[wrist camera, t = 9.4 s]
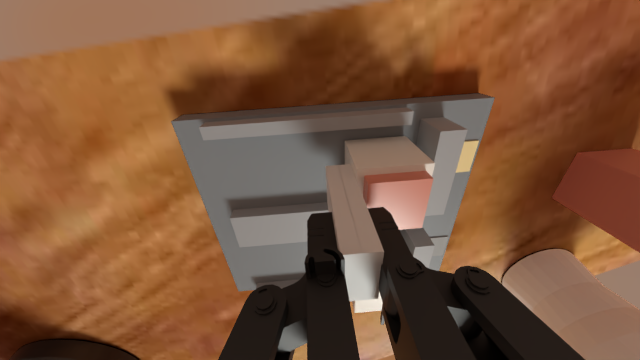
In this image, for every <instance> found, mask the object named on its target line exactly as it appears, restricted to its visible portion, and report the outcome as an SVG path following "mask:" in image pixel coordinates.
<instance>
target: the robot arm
mask: <svg viewBox="0 0 640 360" xmlns="http://www.w3.org/2000/svg"><path fill="white" fill-rule="evenodd" d="M325 167H326V186H327V204H328V211H329V212H325V213H313V214H311V215H310V217H309V219H308V220H307V247H308V255H307V256H306V258H305V262H304V264H305V271H306V272H305V274H304V275H303V277H302V278H301V279H300V280H299V281H297V282H295V283H294V284H292V285H289V286H287V287H284V288H282V289H281V288H280V287H279V286H276V285H273V284H271V285H264V286H261V287H259V288H257V289H256V290H254V291H253V292H252V293H251V294H250V295H249V297H248V298H247V300H246V302H245V304H244V306H243V308H242V310H241V312H240V314H239V316H238V319H237V321H236V323H235V325H234V327H233V329H232V331H231V333H230V336H229V338H228V340H227V342H226V344H225V346H224V348H223V350H222V353H221V355H220V357H219V359H218V360H292V358H293V354H294V350H295V349H296V348H298V347H300V346H302V345H304V344H305V343H307V360H360V358H359V353H358V347H357V341H356V336H355V330H354V324H353V319H352V313H351V307H350V302H349V301H359V300H370V299H378V297H379V292H380V295H381V299H382V302H383V304H382V311H381V318H380V319H381V325H383V324H384V321H385V324H386V328H387V331H388V335H389V338H390V342H391V345H392V349H393V352H394V355H395V359H396V360H585V359H584V358H583V357H582V356H581V355H580V354H578V353H577V352H576V351H575V350H574V349H573V348H572V347H571V346H570V345H568V344H567V343H566V342H565V341H564V340H563V339H562V338H561V337H560V336H558V335H557V334H556V333H555V332H554V331H553V330H552V329H551V328H550V327H548V326H547V325H546V324H545V323H544V322H543V321H542V320H541V319H540V318H538V317H537V316H536V315H535V314H534V313H533V312H532V311H531V310H530V309H528V308H527V307H526V306H525V305H524V304H523V303H522V302H521V301H520V300H519V299H517V298H516V297H515V296H514V295H513V294H512V293H511V292H510V291H509V290H507V289H506V288H505V287H504V286H503V285H502V284H501V283H500V282H499V281H497V280H496V279H495V278H494V277H493V276H491V275H490V274H489V273H487V272H486V271H484V270H481V269H479V268H477V267H471V266H463V267H460V268H458V269H457V270H456V271H455V274H452V273H446V272H441V271H436V270H432V269H429V268H427V267H425V265H424V264H423V263H422V262H421V261H419V260H418V259H416V258H414V257H413V255H412V254H411V252H410V250H409V248H408V246H407V244H406V242H405V240H404V238H403V236H402V234H401V232H400V230H399V229H398V226H397V224H396V223H395V220H394V218H393V216H392V214H391V213H390V212H389V211H388V210H386V209H385V208H384V207H377V208H367V205H366V203H365V200H364V198H363V195H362V192H361V190H360V187H359V185H358V182H357V179H356V177H355V174H354V172H353V169H352V166H351V164H345V165H332V166H325ZM9 360H137V359H136V358H135V357H133V356H131V355H129V354H127V353H125V352H123V351H121V350H118V349H115V348H112V347H109V346H105V345H101V344H97V343H92V342H86V341H77V340H45V341H38V342H33V343H30V344H27V345H25V346H23V347H21V348H20V349H18V350H17V351H16V353H15V354H14V355H13V356H12V357H11V358H10V359H9Z"/></svg>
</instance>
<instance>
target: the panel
mask: <svg viewBox="0 0 640 360" xmlns="http://www.w3.org/2000/svg"><path fill="white" fill-rule="evenodd" d="M494 98H495V97H491V96H487V95H484V94H480V93H474V94H461V95H447V96H433V97H420V98H406V99H392V100H379V101H365V102H352V103H338V104H324V105H311V106H297V107H283V108H270V109H256V110H242V111H229V112H215V113H201V114H188V115H181V116H180V117H178V118H176V119H175V120H173V121H171V122H172V125H173V127H174V130H175V132H176V135H177V137H178V140H179V142H180V145H181V147H182V150H183V152H184V155H185V157H186V160H187V162H188V165H189V167H190V170H191V172H192V175H193V178H194V180H195V183H196V185H197V188H198V190H199V193H200V195H201V198H202V200H203V203H204V205H205V208H206V210H207V213H208V215H209V218H210V220H211V223H212V225H213V228H214V230H215V233H216V235H217V238H218V240H219V243H220V245H221V248H222V250H223V253H224V255H225V258H226V260H227V263H228V265H229V268H230V270H231V273H232V275H233V278H234V280H235V283H236V285H237V288H238V291H247V290H256V289H257V288H259V287H261V286H264V285H271V284H273V285H276V286H279V287H280V288H281V289H282V288H284V287H287V286H289V285H292V284H294V283H295V282H297V281H299V280H300V279H301V278H302V277H303V275H304V274H305V272H306V271H305V264H304V262H305V258H306V256H307V255H308V247H307V220H308V219H309V217H310V215H311V214H313V213H325V212H329V211H328V204H327V186H326V167H325V166H332V165H345V140H358V139H371V138H384V137H397V136H406V137H407V138H408V139H409V140H410V141H411V142H412V143H414V144H415V145H416V146H417V147H418V148H419V149H420V150H421V151H422V152H423V153H425V154H426V155H427V156H428V157H429V158H430V159H431V160H432V161H433V162H435V166H434V171H433V175H432V177H433V178H434V179H433V183H432V187H431V192H430V196H429V200H428V205H427V209H426V213H425V218H424V222H423V226H422V228H415V229H403V230H400V232H401V234H402V236H403V238H404V240H405V242H406V244H407V246H408V248H409V250H410V252H411V254H412V255H413V257H414V258H416V259H418V260H419V261H421V262H422V263H423V264H424V265H425V267H427V268H429V269H432V270H436V271H439V269H440V266H441V263H442V260H443V256H444V253H445V250H446V247H447V244H448V241H449V238H450V235H451V232H452V229H453V225H454V222H455V219H456V216H457V213H458V210H459V207H460V204H461V201H462V198H463V194H464V191H465V188H466V185H467V182H468V179H469V176H470V173H471V170H472V167H473V163H474V160H475V157H476V154H477V151H478V148H479V145H480V142H481V139H482V135H483V132H484V129H485V126H486V123H487V120H488V117H489V114H490V111H491V108H492V104H493V101H494Z"/></svg>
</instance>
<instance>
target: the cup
mask: <svg viewBox="0 0 640 360" xmlns="http://www.w3.org/2000/svg"><path fill="white" fill-rule="evenodd" d="M502 285H503V286H504V287H505V288H506V289H507V290H509V291H510V292H511V293H512V294H513V295H514V296H515V297H516V298H517V299H519V300H520V301H521V302H522V303H523V304H524V305H525V306H526V307H527V308H528V309H530V310H531V311H532V312H533V313H534V314H535V315H536V316H537V317H538V318H540V319H541V320H542V321H543V322H544V323H545V324H546V325H547V326H548V327H550V328H551V329H552V330H553V331H554V332H555V333H556V334H557V335H558V336H560V337H561V338H562V339H563V340H564V341H565V342H566V343H567V344H568V345H570V346H571V347H572V348H573V349H574V350H575V351H576V352H577V353H578V354H580V355H581V356H582V357H583V358H584V359H585V360H640V309H638V308H637V307H635V306H634V305H632V304H631V303H629V302H628V301H626V300H625V299H623V298H622V297H620V296H618V295H617V294H616V293H614V292H613V291H611V290H610V289H608V288H607V287H605V286H604V285H602V284H601V283H600V282H599V281H598V280H597V279H596V277H595V276H594V275H593V274H592V273H591V272H590V271H589V270H588V269H587V268H586V267H585V266H584V265H583V264H582V263H581V262H580V261H579V260H578V259H577V258H576V257H575V256H574V255H573V254H572V253H571V252H569V251H567V250H563V249H549V250H544V251H540V252H537V253H534V254H532V255H529V256H527V257H525V258H524V259H522V260H520V261H518V262H517V263H516V264H514V265H513V266H512V267H511V268H510V269H509V270H508V271H507V272H506V273H505V275H504V277H503V279H502Z"/></svg>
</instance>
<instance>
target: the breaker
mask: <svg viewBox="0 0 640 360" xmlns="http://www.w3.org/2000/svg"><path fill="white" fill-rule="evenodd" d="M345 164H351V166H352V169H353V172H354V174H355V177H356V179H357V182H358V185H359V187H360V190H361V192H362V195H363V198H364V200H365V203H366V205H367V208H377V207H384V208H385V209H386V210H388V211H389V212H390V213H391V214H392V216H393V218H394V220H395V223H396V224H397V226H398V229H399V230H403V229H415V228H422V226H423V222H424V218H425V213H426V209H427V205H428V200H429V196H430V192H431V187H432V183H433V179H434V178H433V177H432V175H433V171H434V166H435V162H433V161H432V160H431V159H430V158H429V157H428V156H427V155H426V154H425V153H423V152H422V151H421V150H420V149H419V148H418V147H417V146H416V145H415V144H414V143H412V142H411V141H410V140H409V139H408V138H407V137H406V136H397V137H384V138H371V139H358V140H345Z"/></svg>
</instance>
